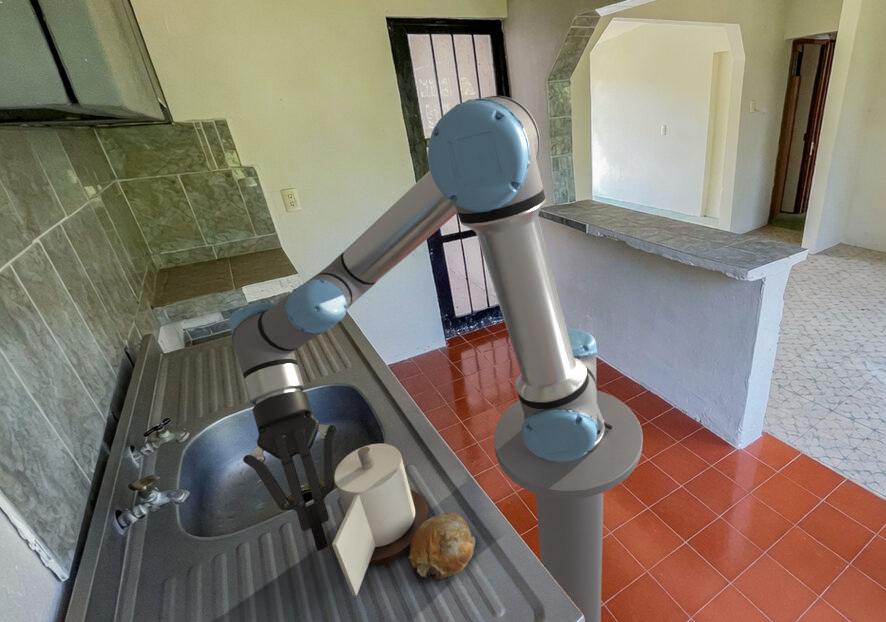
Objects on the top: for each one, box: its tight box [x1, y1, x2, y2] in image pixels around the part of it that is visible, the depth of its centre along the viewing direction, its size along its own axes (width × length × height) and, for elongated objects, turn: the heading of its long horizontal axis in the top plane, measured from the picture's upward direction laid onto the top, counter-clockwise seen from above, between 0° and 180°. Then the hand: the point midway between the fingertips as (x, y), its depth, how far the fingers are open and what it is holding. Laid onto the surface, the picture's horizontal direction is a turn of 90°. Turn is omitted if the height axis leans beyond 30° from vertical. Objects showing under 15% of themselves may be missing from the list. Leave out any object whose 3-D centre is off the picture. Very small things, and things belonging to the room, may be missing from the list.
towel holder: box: [358, 446, 430, 567], centre depth 74 cm, size 14×14×18 cm
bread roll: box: [407, 511, 476, 580], centre depth 72 cm, size 10×10×8 cm
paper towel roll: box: [331, 443, 415, 597], centre depth 71 cm, size 18×10×12 cm, turn 163°
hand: (323, 548), depth 66 cm, fingers closed
